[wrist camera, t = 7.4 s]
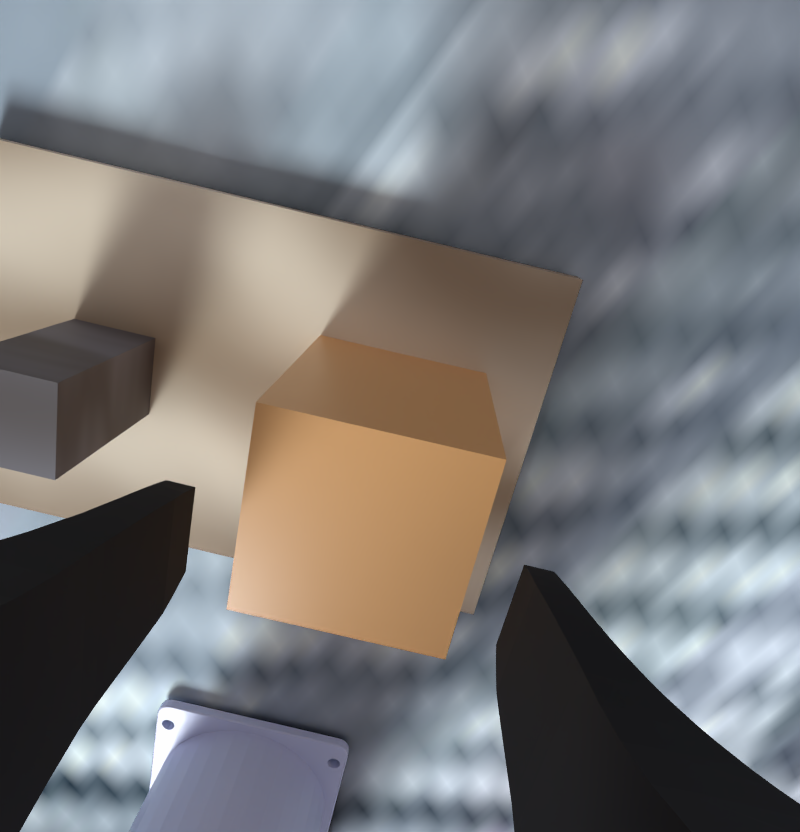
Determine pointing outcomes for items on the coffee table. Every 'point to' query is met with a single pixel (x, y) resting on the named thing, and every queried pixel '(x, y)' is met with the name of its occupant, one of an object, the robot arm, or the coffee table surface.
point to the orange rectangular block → (367, 496)
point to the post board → (223, 332)
